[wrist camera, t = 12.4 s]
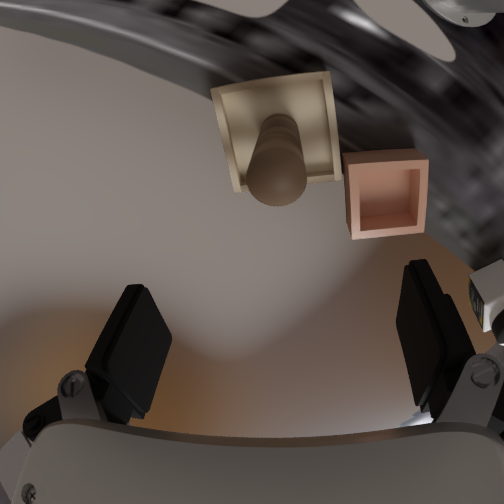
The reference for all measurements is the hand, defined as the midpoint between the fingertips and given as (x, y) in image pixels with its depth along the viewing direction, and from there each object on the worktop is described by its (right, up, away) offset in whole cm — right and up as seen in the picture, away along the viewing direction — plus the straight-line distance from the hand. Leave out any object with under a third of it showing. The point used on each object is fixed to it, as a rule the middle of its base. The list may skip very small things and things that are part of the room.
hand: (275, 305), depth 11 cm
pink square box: (+14, +10, +24) cm, 29 cm away
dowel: (+2, +15, +21) cm, 26 cm away
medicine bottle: (+37, -3, +30) cm, 48 cm away
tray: (+2, +15, +21) cm, 26 cm away
